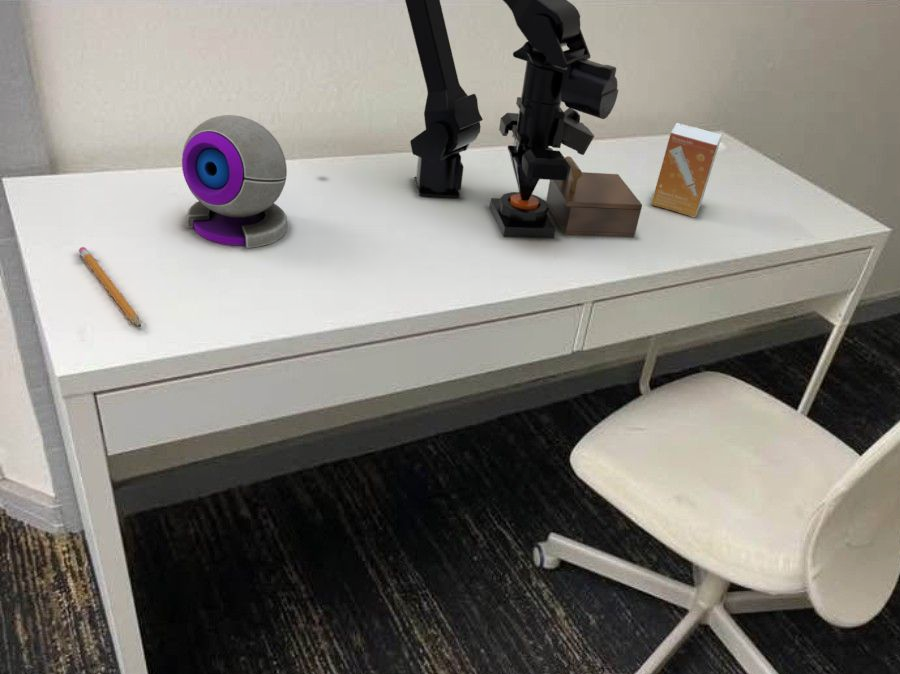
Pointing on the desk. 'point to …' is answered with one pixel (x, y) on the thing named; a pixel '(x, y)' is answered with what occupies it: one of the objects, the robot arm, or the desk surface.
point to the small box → (686, 169)
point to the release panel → (522, 218)
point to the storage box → (592, 218)
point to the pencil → (110, 286)
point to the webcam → (235, 182)
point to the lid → (595, 190)
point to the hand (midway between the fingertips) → (524, 199)
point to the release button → (524, 202)
